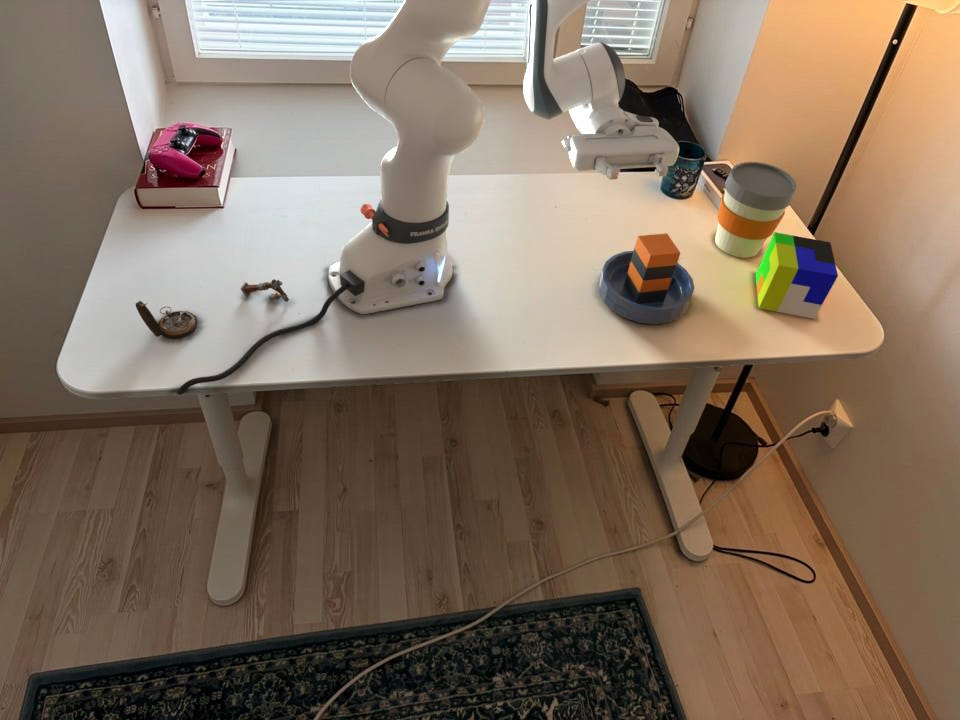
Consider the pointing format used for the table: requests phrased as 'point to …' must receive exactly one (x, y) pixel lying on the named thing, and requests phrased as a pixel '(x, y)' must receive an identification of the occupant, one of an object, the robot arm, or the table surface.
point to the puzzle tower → (651, 268)
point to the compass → (169, 322)
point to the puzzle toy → (795, 275)
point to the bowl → (650, 313)
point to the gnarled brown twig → (265, 286)
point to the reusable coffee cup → (752, 207)
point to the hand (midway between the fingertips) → (639, 174)
